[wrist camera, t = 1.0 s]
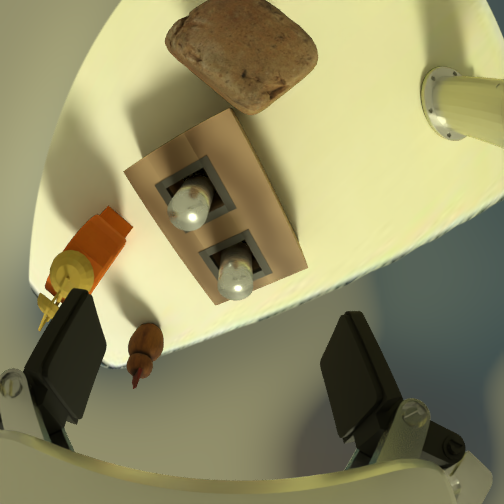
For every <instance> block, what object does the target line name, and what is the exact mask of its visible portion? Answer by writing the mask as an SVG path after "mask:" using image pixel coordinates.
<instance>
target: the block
mask: <svg viewBox="0 0 504 504" xmlns="http://www.w3.org/2000/svg"><path fill="white" fill-rule="evenodd" d="M165 44H166V46H167V48H168V50H169V52H170V53H171V54H172V55H173V56H174V57H175V58H176V59H177V60H178V61H179V62H181V63H182V64H183V65H184V66H186V67H187V68H188V69H189V70H190V71H192V72H193V73H194V74H195V75H196V76H198V77H199V78H200V79H201V80H202V81H204V82H205V83H206V84H207V85H209V86H210V87H211V88H212V89H213V90H214V91H216V92H217V93H218V94H219V95H220V96H222V97H223V98H224V99H225V100H226V101H228V102H229V103H230V104H231V105H233V106H234V107H235V108H237V109H238V110H239V111H241V112H242V113H244V114H248V115H254V114H258V113H259V112H261V111H263V110H264V109H266V108H267V107H268V106H270V105H271V104H272V103H273V102H274V101H276V100H277V99H278V98H279V97H281V96H282V95H284V94H285V93H286V92H287V91H289V90H290V89H291V88H292V87H294V86H295V85H296V84H297V83H299V82H300V81H301V80H302V79H303V78H305V77H306V76H307V75H308V74H309V73H310V72H311V71H312V70H313V69H314V67H315V66H316V64H317V61H318V53H317V48H316V45H315V44H314V42H313V40H312V38H311V37H310V36H309V35H308V34H307V33H306V32H305V31H304V30H303V29H302V28H301V27H300V26H299V25H298V24H296V23H295V22H294V21H292V20H291V19H290V18H288V17H287V16H286V15H285V14H284V13H283V12H281V11H280V10H279V9H278V8H276V7H275V6H273V5H272V4H270V3H269V2H267V1H266V0H208V1H206V2H204V3H202V4H201V5H199V6H198V7H196V8H195V9H193V10H192V11H191V12H190V13H189V16H187V17H184V18H182V19H179V20H178V21H177V22H176V23H174V24H173V26H172V28H171V29H170V30H169V31H168V33H167V35H166V38H165Z"/></svg>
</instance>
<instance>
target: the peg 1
mask: <svg viewBox="0 0 504 504" xmlns="http://www.w3.org/2000/svg"><path fill="white" fill-rule="evenodd" d="M213 196H214V186H213V184H212V182H211V181H210V180H209V179H208V178H206V177H204V176H201V175H194V176H191V177H189V178H188V179H186V180H185V182H184V183H183V184H182V186H181V187H180V188H179V190H178V191H177V193H176V194H175V195H174V197H173V198H172V200H171V201H170V203H169V205H168V209H167V213H168V217H169V220H170V221H171V223H172V224H173V225H174V226H175V227H177V228H178V229H180V230H184V231H193V230H196V229H198V228H200V227H201V226H202V225H203V224H204V223H205V221H206V219H207V215H208V212H209V209H210V206H211V202H212V199H213Z"/></svg>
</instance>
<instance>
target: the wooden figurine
mask: <svg viewBox="0 0 504 504" xmlns="http://www.w3.org/2000/svg"><path fill="white" fill-rule="evenodd" d="M163 347H164V341H163V334H162V331H161V330H160V329H159V327H158V326H156V325H154V324H151V323H146V324H142V325H141V326H140V327H138V328H137V329H136V331H135V332H134V333H133V335H132V336H131V338H130V341H129V344H128V352H129V355H130V357H129V359H128V361H127V370H128V372H129V373H130V374H131V375H132V376H133V380H132V384H133V389H134V388H136V387H137V384H138V381H139V379H140V378H146V377H148V376H149V375H150V373H151V371H152V368H153V363H152V362H153V361H155V360H156V359H157V358H158V357H159V356H160V355H161V353H162V351H163Z"/></svg>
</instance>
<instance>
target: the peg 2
mask: <svg viewBox="0 0 504 504" xmlns="http://www.w3.org/2000/svg"><path fill="white" fill-rule="evenodd" d="M217 286H218V291H219V292H220V294H221V295H222V296H223V297H225V298H227V299H229V300H242V299H245V298H246V297H248V296H249V295H250V294H251V293H252V290H253V273H252V255H251V250H250V248H249V247H248V246H247V245H246V244H244V243H242V242H238V243H236V244H234V245H232V246H230V247H228V248H225V249H223V250H222V253H221V261H220V269H219V277H218V285H217Z"/></svg>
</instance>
